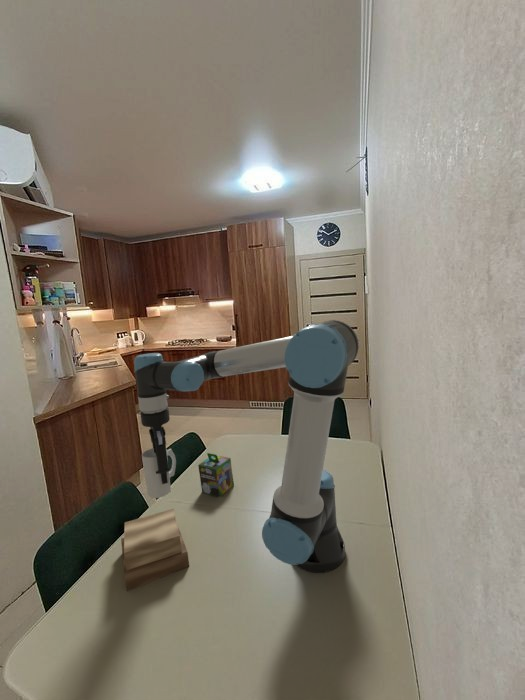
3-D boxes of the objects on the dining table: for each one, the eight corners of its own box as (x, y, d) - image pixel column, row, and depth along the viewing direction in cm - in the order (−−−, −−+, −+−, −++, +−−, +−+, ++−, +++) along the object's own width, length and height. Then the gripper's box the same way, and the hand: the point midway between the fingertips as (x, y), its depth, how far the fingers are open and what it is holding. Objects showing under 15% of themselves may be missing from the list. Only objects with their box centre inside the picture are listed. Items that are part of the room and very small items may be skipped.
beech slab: (181, 552, 93) (179, 535, 93) (126, 570, 89) (124, 552, 88) (175, 523, 106) (173, 508, 106) (126, 537, 102) (124, 522, 101)
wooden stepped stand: (189, 568, 94) (187, 551, 94) (127, 592, 88) (124, 575, 87) (177, 535, 109) (175, 520, 108) (123, 554, 102) (121, 538, 102)
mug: (156, 501, 94) (150, 459, 92) (142, 494, 98) (136, 454, 96) (185, 484, 102) (180, 445, 100) (171, 479, 106) (166, 441, 104)
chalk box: (234, 485, 134) (230, 449, 132) (219, 498, 127) (215, 459, 125) (216, 481, 139) (212, 446, 137) (200, 492, 132) (196, 455, 130)
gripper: (173, 416, 88) (183, 499, 92) (163, 398, 106) (171, 469, 109) (143, 422, 85) (154, 508, 89) (137, 403, 103) (146, 475, 106)
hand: (163, 486), depth 99 cm, fingers closed on mug, 6 cm apart
